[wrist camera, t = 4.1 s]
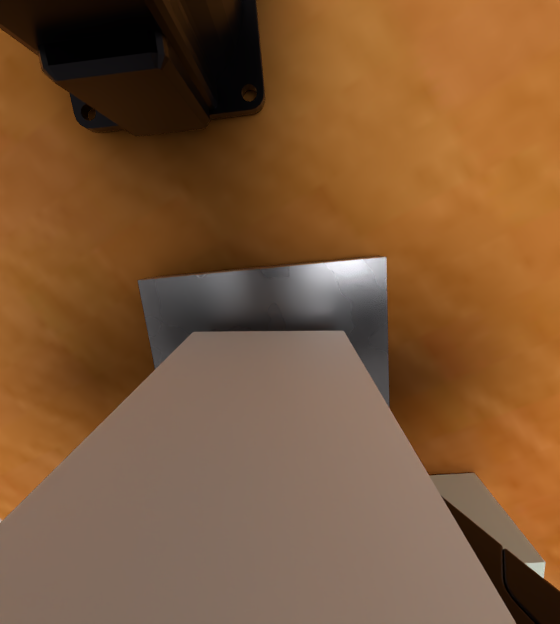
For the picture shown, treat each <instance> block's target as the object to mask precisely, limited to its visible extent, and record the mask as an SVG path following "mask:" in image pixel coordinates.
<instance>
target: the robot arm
mask: <svg viewBox="0 0 560 624" xmlns="http://www.w3.org/2000/svg"><path fill="white" fill-rule="evenodd" d="M0 28H1V29H2V30H3V31H5V32H6V33H8V34H9V35H10V36H12V37H13V38H14V39H16V40H17V41H19V42H20V43H21V44H23V45H24V46H25V47H27V48H28V49H29V50H31V51H32V52H34V53H35V54H36V55H38V56H39V60H40V64H41V69H42V71H43V72H44V74H45V75H47V76H48V77H49V78H50V79H51V80H53V81H54V82H55V83H56V84H58V85H59V86H61V87H62V88H64V89H65V90H67V91H68V92H70V97H71V102H72V106H73V111H74V115H75V117H76V120H77V121H78V122H79V124H80V125H82V126H83V127H85V128H87V129H89V130H91V131H92V132H107V131H116V130H124V129H125V130H126V131H128V132H129V133H131V134H132V135H134V136H146V135H155V134H164V133H172V132H181V131H189V130H198V129H204V128H205V127H206V126H207V125H208V124H209V123H210V119H217V118H226V117H234V116H243V115H251V114H255V113H258V112H259V111H260V110H261V109H262V107H263V105H264V103H265V90H264V80H263V69H262V59H261V48H260V37H259V27H258V16H257V5H256V0H0ZM248 90H254V91H255V92H256V93H257V95H256V98H255V99H254V100H253V101H251V102H249V101H245V100H244V99H243V96H244V93H245V92H246V91H248ZM92 109H95V111H96V116H95V118H94V119H93V120H91V121H90V120H89V118H88V113H89V112H90V110H92ZM441 497H442V496H441ZM442 498H443V500H444V502H445V503H446V505H447V507H448V509H449V510H450V512H451V514H452V515H453V517H454V519H455V520H456V522H457V524H458V525H459V527H460V529H461V531H462V532H463V534H464V536H465V537H466V539H467V541H468V542H469V544H470V546H471V548H472V549H473V551H474V553H475V554H476V556H477V558H478V559H479V561H480V563H481V565H482V566H483V568H484V570H485V571H486V573H487V575H488V576H489V578H490V580H491V581H492V583H493V585H494V587H495V588H496V590H497V592H498V593H499V595H500V597H501V598H502V600H503V602H504V604H505V605H506V607H507V609H508V610H509V612H510V614H511V615H512V617H513V619H514V620H515V622H516V624H560V591H559V590H558V589H556V588H555V587H554V586H553V585H551V584H550V583H549V582H548V581H546V580H545V579H544V578H543V577H541V576H540V575H539V574H537V573H536V572H535V571H534V570H532V569H531V568H530V567H529V566H527V565H526V564H525V563H524V562H522V561H521V560H520V559H519V558H517V557H516V556H515V555H514V554H513V553H511V552H510V551H509V550H508V549H506V548H504V549H503V546H502V545H501V544H500V543H499V542H498V541H496V540H495V539H494V538H493V537H491V536H490V535H489V534H488V533H487V532H485V531H484V530H483V529H482V528H480V527H479V526H478V525H477V524H475V523H474V522H473V521H472V520H471V519H469V518H468V517H467V516H466V515H464V514H463V513H462V512H461V511H460V510H458V509H457V508H456V507H455V506H453V505H452V504H451V503H450V502H448V501H447V500H446V499H445V498H444V497H442Z"/></svg>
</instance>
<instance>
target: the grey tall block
mask: <svg viewBox="0 0 560 624" xmlns="http://www.w3.org/2000/svg"><path fill="white" fill-rule="evenodd" d="M0 624H516V622H515V620H514V619H513V617H512V615H511V614H510V612H509V610H508V609H507V607H506V605H505V604H504V602H503V600H502V598H501V597H500V595H499V593H498V592H497V590H496V588H495V587H494V585H493V583H492V581H491V580H490V578H489V576H488V575H487V573H486V571H485V570H484V568H483V566H482V565H481V563H480V561H479V559H478V558H477V556H476V554H475V553H474V551H473V549H472V548H471V546H470V544H469V542H468V541H467V539H466V537H465V536H464V534H463V532H462V531H461V529H460V527H459V525H458V524H457V522H456V520H455V519H454V517H453V515H452V514H451V512H450V510H449V509H448V507H447V505H446V503H445V502H444V500H443V498H442V497H441V495H440V493H439V492H438V490H437V488H436V486H435V485H434V483H433V481H432V480H431V478H430V476H429V475H428V473H427V471H426V470H425V468H424V466H423V464H422V463H421V461H420V459H419V458H418V456H417V454H416V453H415V451H414V449H413V447H412V446H411V444H410V442H409V441H408V439H407V437H406V436H405V434H404V432H403V431H402V429H401V427H400V425H399V424H398V422H397V420H396V419H395V417H394V415H393V414H392V412H391V410H390V408H389V407H388V405H387V403H386V402H385V400H384V398H383V397H382V395H381V393H380V391H379V390H378V388H377V386H376V385H375V383H374V381H373V380H372V378H371V376H370V375H369V373H368V371H367V369H366V368H365V366H364V364H363V363H362V361H361V359H360V358H359V356H358V354H357V352H356V351H355V349H354V347H353V346H352V344H351V342H350V341H349V339H348V337H347V336H346V334H345V332H344V331H226V332H192V333H191V334H190V335H189V336H188V337H187V338H186V339H185V340H184V341H183V342H182V343H181V344H180V345H179V346H178V347H177V348H176V349H175V350H174V351H173V352H172V353H171V354H170V355H169V356H168V357H167V358H166V359H165V360H164V361H163V362H162V363H161V364H160V365H159V366H158V367H157V368H156V369H155V370H154V371H153V372H152V373H151V374H150V375H149V376H148V377H147V378H146V379H145V380H144V381H143V382H142V383H141V384H140V385H139V386H138V387H137V388H136V389H135V390H134V391H133V392H132V393H131V394H130V395H129V396H128V397H127V398H126V399H125V400H124V401H123V402H122V403H121V404H120V405H119V406H118V407H117V408H116V409H115V410H114V411H113V412H112V413H111V414H110V415H109V416H108V417H107V418H106V419H105V420H104V421H103V422H102V423H101V424H100V425H99V426H98V427H97V428H96V429H95V430H94V431H93V432H92V433H91V434H90V435H89V436H88V437H87V438H86V439H85V440H84V441H83V442H82V443H81V444H79V445H78V446H77V447H76V448H75V449H74V450H73V451H72V452H71V453H70V454H69V455H68V456H67V457H66V458H65V459H64V460H63V461H62V462H61V463H60V464H59V465H58V466H57V467H56V468H55V469H54V470H53V471H52V472H51V473H50V474H49V475H48V476H47V477H46V478H45V479H44V480H43V481H42V482H41V483H40V484H39V485H38V486H37V487H36V488H35V489H34V490H33V491H32V492H31V493H30V494H29V495H28V496H27V497H26V498H25V499H24V500H23V501H22V502H21V503H20V504H19V505H18V506H17V507H16V508H15V509H14V510H13V511H12V512H11V513H10V514H9V515H8V516H7V517H6V518H5V519H4V520H3V521H2V522H1V523H0Z"/></svg>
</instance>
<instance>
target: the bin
mask: <svg viewBox="0 0 560 624" xmlns="http://www.w3.org/2000/svg"><path fill="white" fill-rule="evenodd" d="M429 476H430V478H431V480H432V481H433V483H434V485H435V486H436V488H437V490H438V492H439V493H440V495H441V496H442V497H444V498H445V499H446V500H447V501H448V502H450V503H451V504H452V505H453V506H455V507H456V508H457V509H458V510H460V511H461V512H462V513H463V514H464V515H466V516H467V517H468V518H469V519H471V520H472V521H473V522H474V523H475V524H477V525H478V526H479V527H480V528H482V529H483V530H484V531H485V532H487V533H488V534H489V535H490V536H491V537H493V538H494V539H495V540H496V541H498V542H499V543H500V544H501V545H502V546H503V549H504V548H506V549H508V550H509V551H510V552H511V553H513V554H514V555H515V556H516V557H517V558H519V559H520V560H521V561H522V562H524V563H525V564H526V565H527V566H529V567H530V568H531V569H532V570H534V571H535V572H536V573H537V574H539V575H540V576H541V577H543V578H544V570H545V561H544V560H543V559H542V557H541V556H540V555H539V553H538V552H537V551H536V550H535V548H534V547H533V546H532V545H531V543H530V542H529V541H528V540H527V538H526V537H525V536H524V535H523V533H522V532H521V531H520V530H519V528H518V527H517V526H516V524H515V523H514V522H513V521H512V519H511V518H510V517H509V516H508V514H507V513H506V512H505V511H504V509H503V508H502V507H501V506H500V504H499V503H498V502H497V501H496V499H495V498H494V497H493V496H492V494H491V493H490V492H489V490H488V489H487V488H486V487H485V485H484V484H483V483H482V482H481V480H480V479H479V478H478V477H477V475H476V474H475V473H462V474H446V475H429Z"/></svg>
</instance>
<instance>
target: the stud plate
mask: <svg viewBox="0 0 560 624" xmlns="http://www.w3.org/2000/svg"><path fill="white" fill-rule="evenodd" d="M138 285H139V290H140V295H141V300H142V305H143V310H144V315H145V320H146V325H147V330H148V335H149V341H150V346H151V351H152V356H153V361H154V366H155V369H156V368H157V367H158V366H159V365H160V364H161V363H162V362H163V361H164V360H165V359H166V358H167V357H168V356H169V355H170V354H171V353H172V352H173V351H174V350H175V349H176V348H177V347H178V346H179V345H180V344H181V343H182V342H183V341H184V340H185V339H186V338H187V337H188V336H189V335H190V334H191V333H192V332H226V331H344V332H345V334H346V336H347V337H348V339H349V341H350V342H351V344H352V346H353V347H354V349H355V351H356V352H357V354H358V356H359V358H360V359H361V361H362V363H363V364H364V366H365V368H366V369H367V371H368V373H369V375H370V376H371V378H372V380H373V381H374V383H375V385H376V386H377V388H378V390H379V391H380V393H381V395H382V397H383V398H384V400H385V402H386V403H387V405H388V407H389V366H388V315H387V264H386V257H384V256H369V257H358V258H347V259H337V260H326V261H315V262H305V263H294V264H284V265H273V266H262V267H252V268H241V269H230V270H220V271H209V272H199V273H188V274H177V275H167V276H156V277H148V278H144V279H141V280H138Z"/></svg>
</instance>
